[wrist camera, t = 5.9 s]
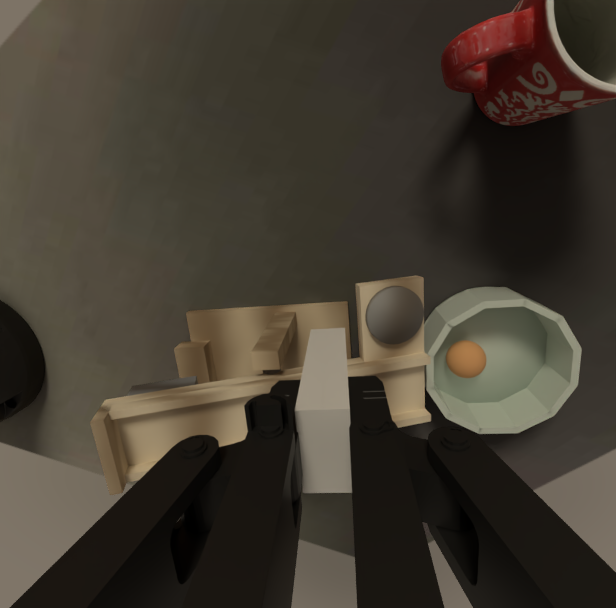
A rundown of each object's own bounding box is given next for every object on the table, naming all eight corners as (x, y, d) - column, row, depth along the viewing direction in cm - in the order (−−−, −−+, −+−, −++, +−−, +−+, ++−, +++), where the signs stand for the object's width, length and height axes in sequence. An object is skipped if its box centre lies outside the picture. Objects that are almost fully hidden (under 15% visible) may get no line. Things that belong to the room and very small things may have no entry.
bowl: (417, 406, 39) (427, 434, 34) (415, 290, 35) (425, 304, 31) (544, 403, 37) (572, 432, 32) (554, 281, 34) (587, 295, 29)
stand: (197, 407, 41) (149, 476, 31) (179, 311, 38) (119, 352, 28) (354, 403, 39) (356, 474, 29) (347, 301, 36) (347, 341, 26)
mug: (583, -5, 28) (783, -177, 15) (581, 125, 30) (753, 72, 18) (410, 34, 30) (459, -89, 17) (421, 155, 32) (470, 126, 19)
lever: (133, 446, 31) (111, 500, 26) (99, 308, 28) (65, 333, 22) (404, 396, 35) (437, 432, 29) (400, 269, 32) (437, 282, 26)
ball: (491, 374, 35) (455, 365, 37) (493, 339, 34) (456, 332, 36) (476, 388, 32) (439, 378, 35) (477, 351, 32) (439, 343, 34)
